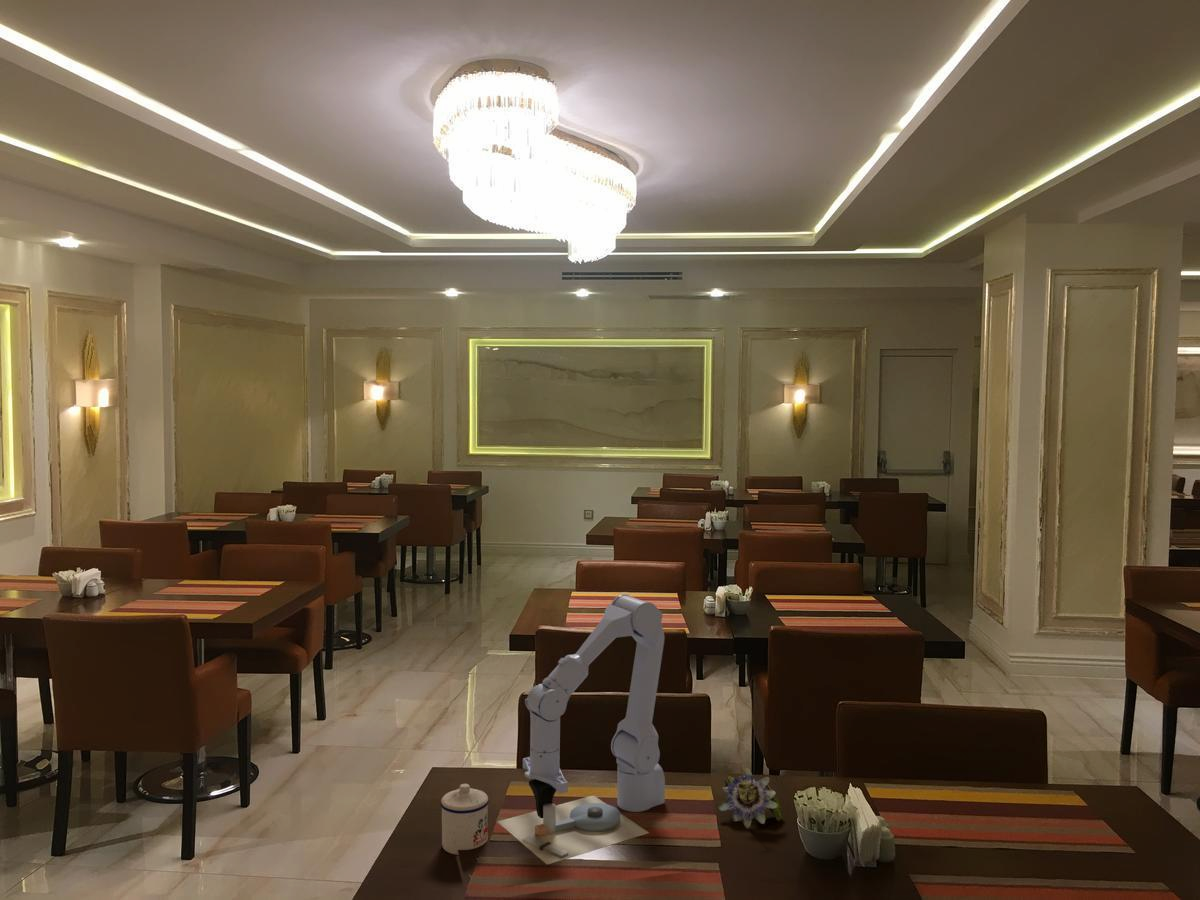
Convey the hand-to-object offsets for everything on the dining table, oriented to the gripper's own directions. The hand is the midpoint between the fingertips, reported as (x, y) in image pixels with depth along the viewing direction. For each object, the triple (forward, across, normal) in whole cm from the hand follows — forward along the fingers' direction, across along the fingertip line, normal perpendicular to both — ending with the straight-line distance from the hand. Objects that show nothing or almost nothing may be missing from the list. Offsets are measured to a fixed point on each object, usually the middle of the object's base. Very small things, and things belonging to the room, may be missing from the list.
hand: (544, 816), depth 185 cm
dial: (+2, +2, +6) cm, 7 cm away
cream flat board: (+4, +3, +5) cm, 7 cm away
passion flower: (+3, +16, +38) cm, 42 cm away
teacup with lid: (+4, -5, -14) cm, 15 cm away
